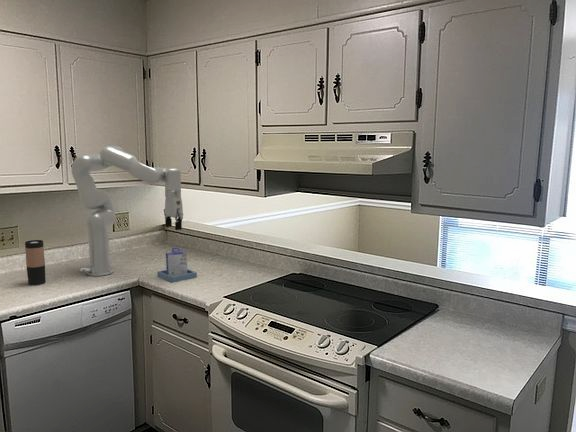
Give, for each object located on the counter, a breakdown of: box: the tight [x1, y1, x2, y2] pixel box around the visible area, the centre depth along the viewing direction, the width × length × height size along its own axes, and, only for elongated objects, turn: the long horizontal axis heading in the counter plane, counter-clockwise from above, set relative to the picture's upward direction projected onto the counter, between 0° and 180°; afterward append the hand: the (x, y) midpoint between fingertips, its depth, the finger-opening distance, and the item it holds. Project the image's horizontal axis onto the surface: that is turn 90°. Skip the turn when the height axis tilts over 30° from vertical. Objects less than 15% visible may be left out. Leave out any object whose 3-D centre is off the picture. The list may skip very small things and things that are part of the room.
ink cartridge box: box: [165, 247, 188, 277], centre depth 232 cm, size 10×6×14 cm, turn 118°
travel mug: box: [24, 239, 46, 286], centre depth 218 cm, size 8×8×20 cm
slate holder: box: [156, 268, 198, 283], centre depth 233 cm, size 14×14×2 cm
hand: (173, 228), depth 230 cm, fingers open, 9 cm apart
